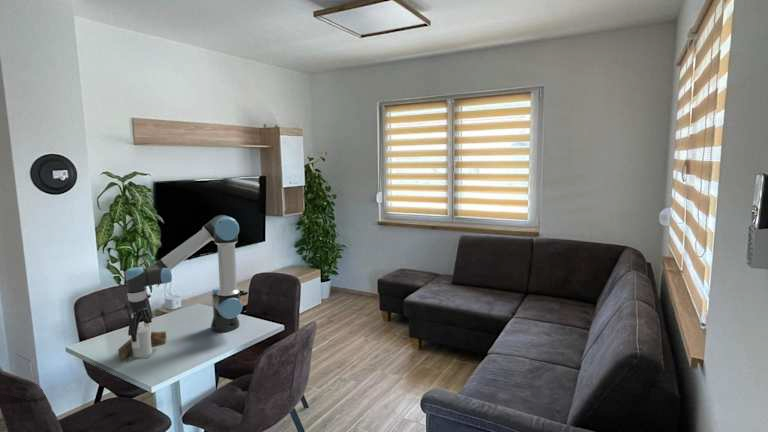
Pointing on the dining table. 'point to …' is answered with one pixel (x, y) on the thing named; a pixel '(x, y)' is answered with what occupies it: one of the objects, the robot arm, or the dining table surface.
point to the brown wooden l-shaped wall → (127, 347)
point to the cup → (143, 343)
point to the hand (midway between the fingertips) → (142, 341)
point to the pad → (141, 357)
